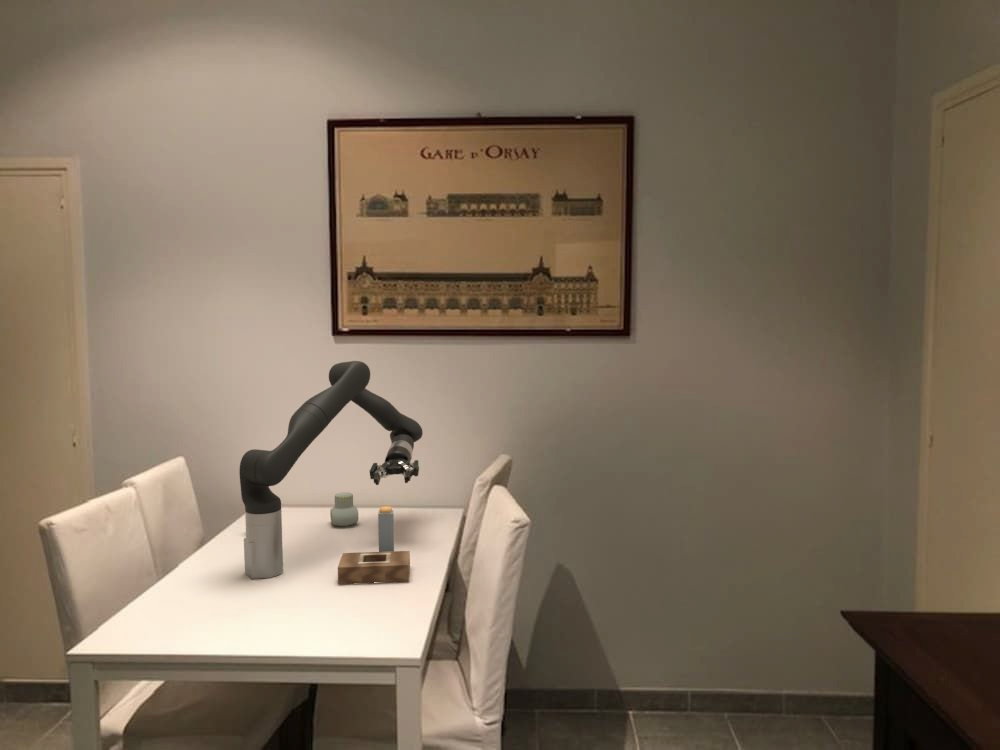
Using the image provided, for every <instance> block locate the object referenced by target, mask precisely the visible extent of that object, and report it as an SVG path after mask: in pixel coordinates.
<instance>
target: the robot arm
mask: <svg viewBox="0 0 1000 750" xmlns="http://www.w3.org/2000/svg"><path fill="white" fill-rule="evenodd" d="M370 379H371V369H370V367H369V366H368V365H367V364H366V363H365V362H363V361H361V360H351V361H344V362H343V361H342V362H339V363H335V364H334V365H333V366H331V368H330V369H329V372H328V381H329V383H330V386H329V387H328V388H326V389H324V390H323V391H320V392H319V393H317V394H315V395H314V396H312V397H310V398H309V399H307V400H306V401H304V402H303V404H301V406H300V407H298V409H297V410H296V411H294V413H293V414H292V416H291V417H290V419H289V422H288V427H287V434H286V437H285V438H284V439H283V440H282V441H281V442H280V444H279V445H277V446H276V447H275V448H273V449H272V450H265V449H264V450H263V449H249V450H247V451H246V452H245V453H244V454H243V455H242V457H241V460H240V462H239V463H240V464H239V485H240V495H241V500H242V501H241V502H242V503H243V505H244V512H245V513H244V515H245V516H244V517H245V538H243V552H244V553H243V554H244V560H243V561H244V574H246V576H248V577H249V578H250V579H251V580H254V579H268V578H274V577H277V576H279V575H281V574H282V573H284V555H283V553H284V551H283V550H284V549H283V521H282V519H283V518H282V499H281V498H280V497H279V496H278V495H277V494H275V493H274V492H273V491H272V490H271V488H270V487H273V486H276V485H278V484H279V483H280V482H282V481H283V480H284V479H285V478H286V476H287V475H288V473H289V472H290V471H291V470H292V468H293V467H294V465H295V464H296V462H297V461H298V460H299V458H300V457H301V455H303V453H304V452H305V451H306V450H307V449H308V447H309V446H310V445H311V444H312V443H313V442H314V441H315V439H317V438H318V436H320V434H321V433H322V432H323V431H324V430H325V429H326V428H327V427H328V426H329V424H330V423H331V422H332V421H333V420H334V419H335V418H336V416H338V414H339V413H340V412H341V411H342V410H343V409H344V408H345V407H347V405H348V404H349V403H350V402H352V403H353V404H355V405H357V406H359V407H360V408H361V409H363V410H364V411H365V412H366V413H367V414H369V415H370V416H371V417H372V418H373V419H374V420H375V421H376V422H377V423H378V424H379V425H380V426H381V427H382V428H383V429H384V430H386V431H388V432H390V433H389V438H390V439H389V440H390V442H391V443H390V446H389V448H388V450H387V453H386V456H385V460H384V462H383V463H382V464H378V462H374V463H373V464H372V465H371V466H370V469H369V477H370V480H373V484H375V485H376V486H379V484H380V482H381V479H382V478H384V479H385V478H388V477H389V476H393V475H402V476H403V478H404V479H403V480H404V483H405V484H408V483H409V482H410V481H411V478H412V477H413V476H414V477H418V476H419V471H420V464H419V460H418V459H415V460H413V462H411V461H412V459H413V450H414V448H415V447H414V446H415V444H414V443H415V442H418V441H420V440H421V439H422V437H423V429H422V426H421V424H419V422H417V421H416V420H415V419H413V418H411V417H409V416H407V415H405V414H403V413H401V412H400V411H399V410H398V409H397V408H396V407H395V406H394V405H393V404H392V403H391V402H390V401H388V400H387V399H385V398H384V397H382V396H380V395H377V394H376V393H374V392H372V391H370V390H368V389H367V388H366V387H367V386H369V385H368V384H369V383H370Z"/></svg>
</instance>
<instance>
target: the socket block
mask: <svg viewBox="0 0 1000 750" xmlns="http://www.w3.org/2000/svg"><path fill="white" fill-rule="evenodd" d="M410 552H411V551H410V550H398V551H397V550H394V551H388V552H379V551H363V552H362V551H361V552H343V553H342V554H341V557H340V560H339V563H338V566H337V585H338V584H341V585H355V584H354V583H368V584H375V583H374V582H396V583H409V582H410V571H411V570H410V568H411V561H410V560H411V557H410V556H411V555H410ZM408 581H409V582H408Z"/></svg>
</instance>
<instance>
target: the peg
mask: <svg viewBox="0 0 1000 750" xmlns="http://www.w3.org/2000/svg"><path fill="white" fill-rule="evenodd" d="M394 517H395V516H394V509H393V507H392V506H390V505H383V506H380V507H379V509H378V513H377V519H378V520H377V521H378V523H377V524H378V527H377V528H378V530H377V531H378V532H377V533H378V552H388V551H395V528H394V524H395V523H394V520H395V519H394Z"/></svg>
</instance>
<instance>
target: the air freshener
mask: <svg viewBox="0 0 1000 750" xmlns="http://www.w3.org/2000/svg"><path fill="white" fill-rule="evenodd" d="M329 515H330V522H331V524H332V525H334V526H336V525H337V526H336V527H349V525H350V526H353V525H354V524H356V523H357V522H358V521H359V509H358V507H357V506H355V505H354V495H353V493H352V492H349V491H347V492H344V491H343V492H337V493H335V495H334V506H333V507H332V508H330V512H329Z"/></svg>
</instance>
